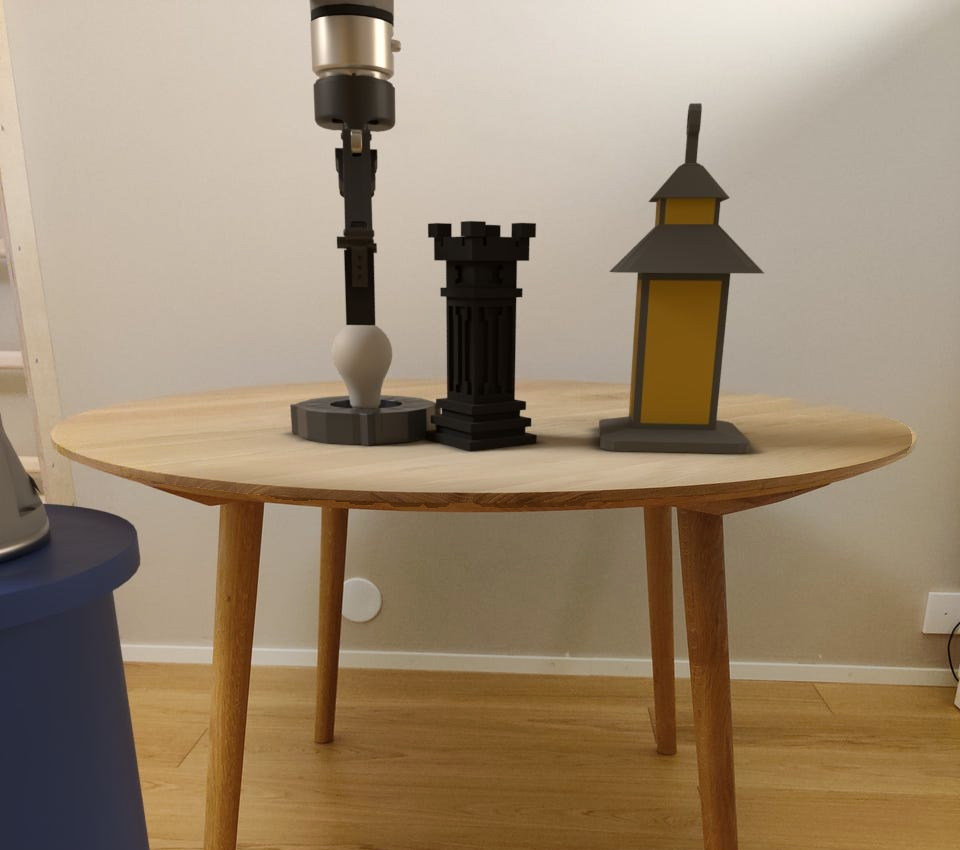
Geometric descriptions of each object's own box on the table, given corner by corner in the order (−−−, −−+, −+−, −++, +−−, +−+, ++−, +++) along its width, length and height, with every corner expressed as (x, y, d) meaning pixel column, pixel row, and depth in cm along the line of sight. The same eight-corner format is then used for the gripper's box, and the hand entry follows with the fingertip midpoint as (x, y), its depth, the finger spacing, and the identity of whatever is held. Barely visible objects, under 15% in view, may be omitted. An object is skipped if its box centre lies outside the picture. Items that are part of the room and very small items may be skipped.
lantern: (729, 430, 103) (761, 115, 92) (751, 454, 90) (791, 90, 79) (598, 427, 104) (614, 116, 93) (600, 450, 91) (619, 91, 80)
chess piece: (490, 431, 101) (492, 225, 93) (536, 443, 94) (542, 223, 87) (425, 438, 96) (422, 223, 89) (469, 450, 90) (469, 220, 83)
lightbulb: (398, 424, 103) (393, 318, 98) (393, 437, 98) (387, 324, 93) (342, 425, 103) (334, 318, 99) (333, 437, 98) (325, 325, 93)
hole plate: (368, 449, 91) (367, 417, 89) (270, 434, 99) (268, 404, 98) (461, 431, 101) (461, 402, 100) (366, 418, 109) (365, 391, 108)
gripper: (401, 52, 77) (403, 328, 84) (390, 104, 100) (393, 317, 108) (306, 48, 76) (318, 327, 83) (317, 101, 99) (326, 316, 107)
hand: (360, 322), depth 96 cm, fingers open, 13 cm apart
